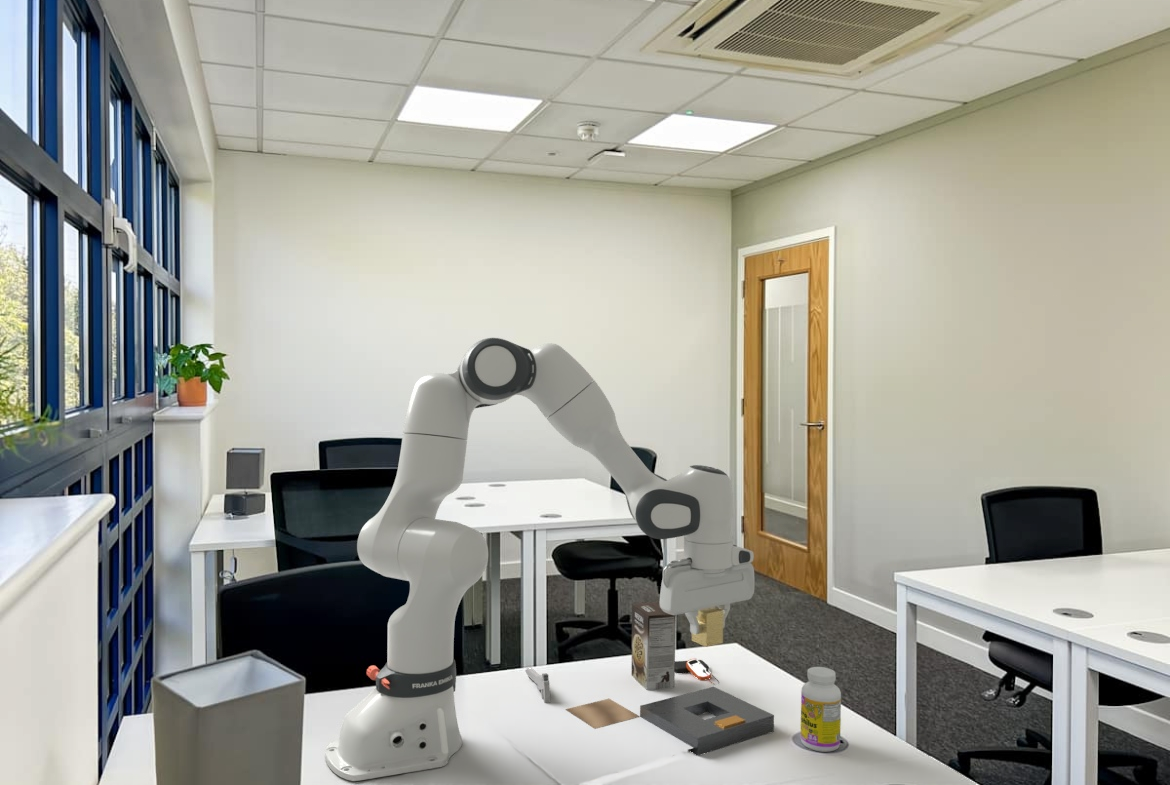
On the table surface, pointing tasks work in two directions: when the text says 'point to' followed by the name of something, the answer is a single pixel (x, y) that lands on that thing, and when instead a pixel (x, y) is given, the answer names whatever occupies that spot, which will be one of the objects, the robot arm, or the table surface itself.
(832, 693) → the supplement bottle
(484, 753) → the table surface
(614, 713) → the copper pad
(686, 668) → the multimeter
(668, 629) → the coffee box
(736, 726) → the hole plate
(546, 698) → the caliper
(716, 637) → the brass peg
